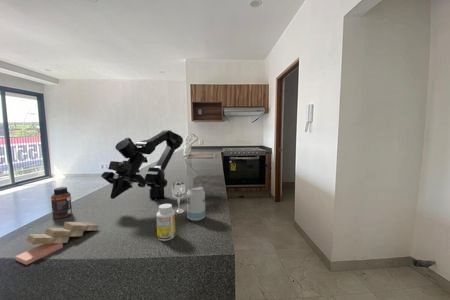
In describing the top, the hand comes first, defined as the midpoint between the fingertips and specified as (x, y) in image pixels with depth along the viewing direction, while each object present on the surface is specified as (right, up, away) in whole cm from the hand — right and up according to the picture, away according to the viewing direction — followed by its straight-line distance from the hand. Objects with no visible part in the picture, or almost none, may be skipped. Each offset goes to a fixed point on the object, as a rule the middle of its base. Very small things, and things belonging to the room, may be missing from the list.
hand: (111, 198), depth 73 cm
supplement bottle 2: (+24, -10, -12) cm, 29 cm away
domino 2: (-6, -9, -16) cm, 20 cm away
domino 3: (-4, -8, -10) cm, 14 cm away
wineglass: (+24, -8, +8) cm, 26 cm away
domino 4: (-3, -8, -6) cm, 11 cm away
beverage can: (+32, -8, +2) cm, 33 cm away
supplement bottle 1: (-22, -8, +4) cm, 24 cm away
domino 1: (-6, -9, -14) cm, 18 cm away
